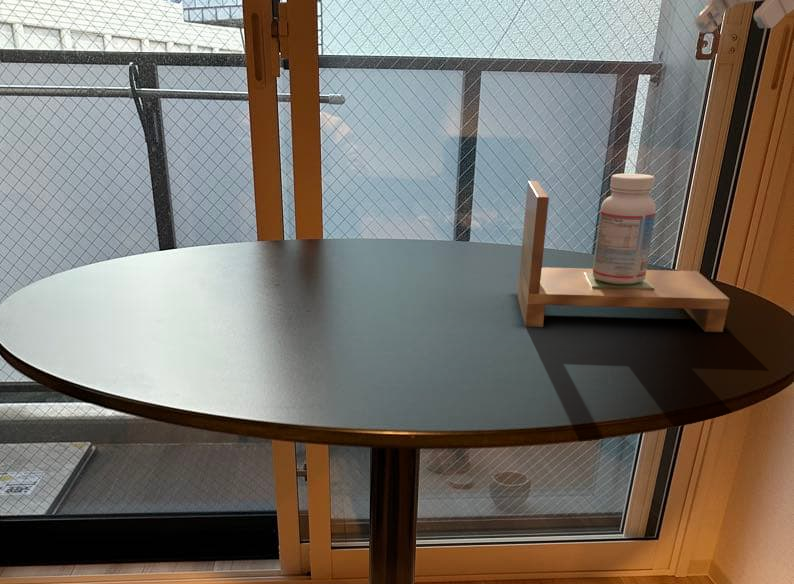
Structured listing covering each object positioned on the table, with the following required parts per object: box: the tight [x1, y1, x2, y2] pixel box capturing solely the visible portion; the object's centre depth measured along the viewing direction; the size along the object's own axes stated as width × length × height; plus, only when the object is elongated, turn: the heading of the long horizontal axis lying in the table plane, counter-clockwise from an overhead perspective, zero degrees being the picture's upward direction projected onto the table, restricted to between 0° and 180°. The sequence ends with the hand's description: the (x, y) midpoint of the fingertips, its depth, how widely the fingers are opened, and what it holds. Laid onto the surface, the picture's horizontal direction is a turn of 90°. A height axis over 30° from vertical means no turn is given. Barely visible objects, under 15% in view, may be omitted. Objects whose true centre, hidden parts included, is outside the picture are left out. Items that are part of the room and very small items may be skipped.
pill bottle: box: [592, 173, 657, 284], centre depth 92 cm, size 6×6×11 cm
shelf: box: [517, 180, 731, 333], centre depth 93 cm, size 22×14×14 cm, turn 86°
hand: (729, 25), depth 77 cm, fingers open, 8 cm apart
